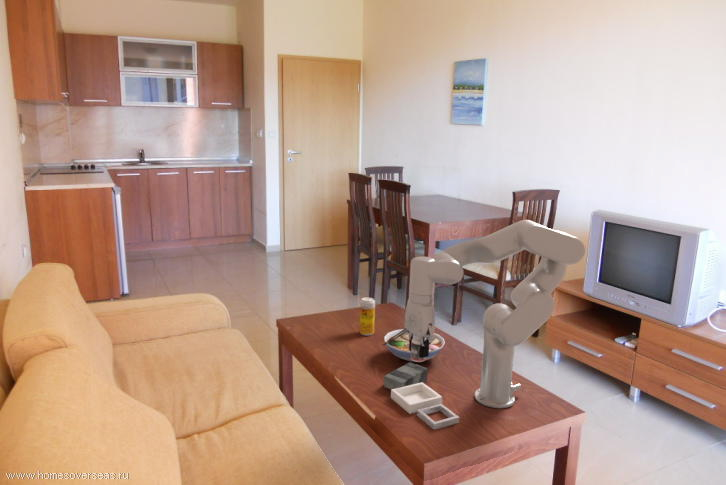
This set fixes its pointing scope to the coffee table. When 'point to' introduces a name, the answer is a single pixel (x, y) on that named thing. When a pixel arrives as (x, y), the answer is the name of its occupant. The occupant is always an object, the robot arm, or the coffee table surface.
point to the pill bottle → (416, 349)
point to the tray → (415, 397)
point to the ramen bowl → (400, 344)
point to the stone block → (405, 376)
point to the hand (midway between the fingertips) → (418, 353)
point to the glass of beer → (367, 316)
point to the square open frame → (442, 423)
